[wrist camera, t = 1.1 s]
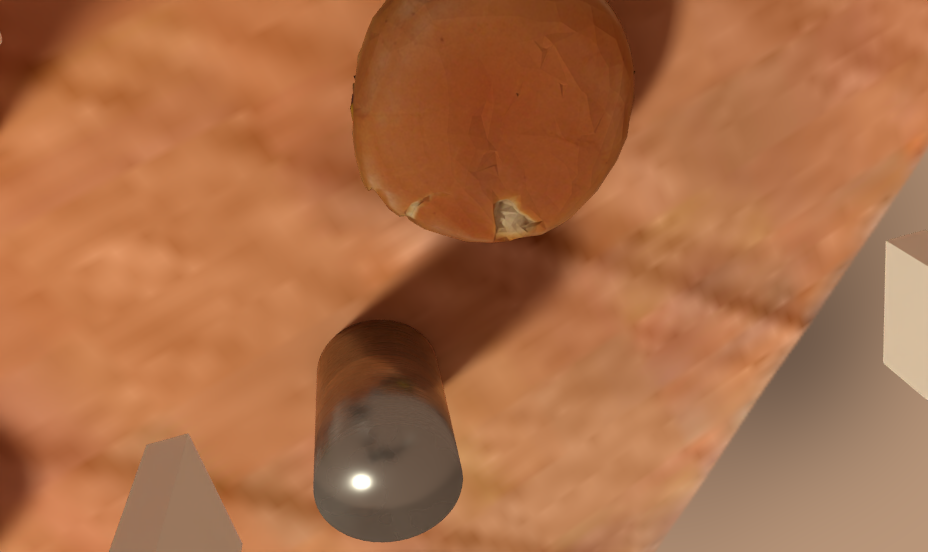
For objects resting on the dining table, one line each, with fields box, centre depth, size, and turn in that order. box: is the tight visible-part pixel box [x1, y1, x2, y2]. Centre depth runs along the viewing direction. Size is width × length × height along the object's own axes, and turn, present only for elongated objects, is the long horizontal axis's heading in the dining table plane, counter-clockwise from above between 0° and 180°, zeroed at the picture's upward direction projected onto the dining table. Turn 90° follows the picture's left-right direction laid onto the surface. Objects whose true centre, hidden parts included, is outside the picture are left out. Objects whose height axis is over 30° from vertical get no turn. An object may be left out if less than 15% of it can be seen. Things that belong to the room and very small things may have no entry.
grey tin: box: [314, 320, 463, 542], centre depth 29 cm, size 5×5×7 cm
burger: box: [350, 0, 635, 243], centre depth 26 cm, size 10×9×5 cm
